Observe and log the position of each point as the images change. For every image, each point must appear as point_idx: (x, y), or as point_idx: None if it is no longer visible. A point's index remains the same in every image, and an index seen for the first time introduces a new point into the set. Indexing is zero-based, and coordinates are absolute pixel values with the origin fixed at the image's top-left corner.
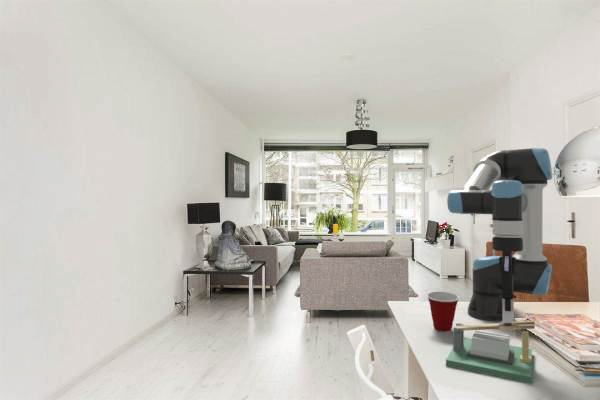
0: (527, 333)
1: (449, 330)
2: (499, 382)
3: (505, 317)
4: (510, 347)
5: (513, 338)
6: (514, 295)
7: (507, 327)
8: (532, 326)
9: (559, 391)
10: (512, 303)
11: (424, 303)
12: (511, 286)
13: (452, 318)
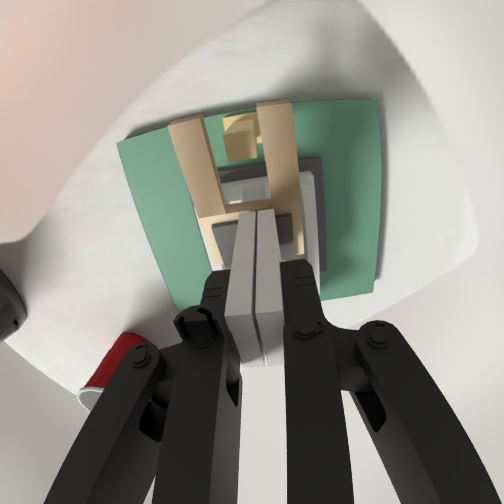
0: (252, 134)
1: (135, 335)
2: (408, 169)
3: (280, 259)
4: (152, 195)
5: (51, 217)
6: (191, 331)
7: (302, 222)
8: (290, 110)
9: (376, 40)
10: (280, 289)
11: (53, 376)
12: (453, 421)
13: (123, 354)
